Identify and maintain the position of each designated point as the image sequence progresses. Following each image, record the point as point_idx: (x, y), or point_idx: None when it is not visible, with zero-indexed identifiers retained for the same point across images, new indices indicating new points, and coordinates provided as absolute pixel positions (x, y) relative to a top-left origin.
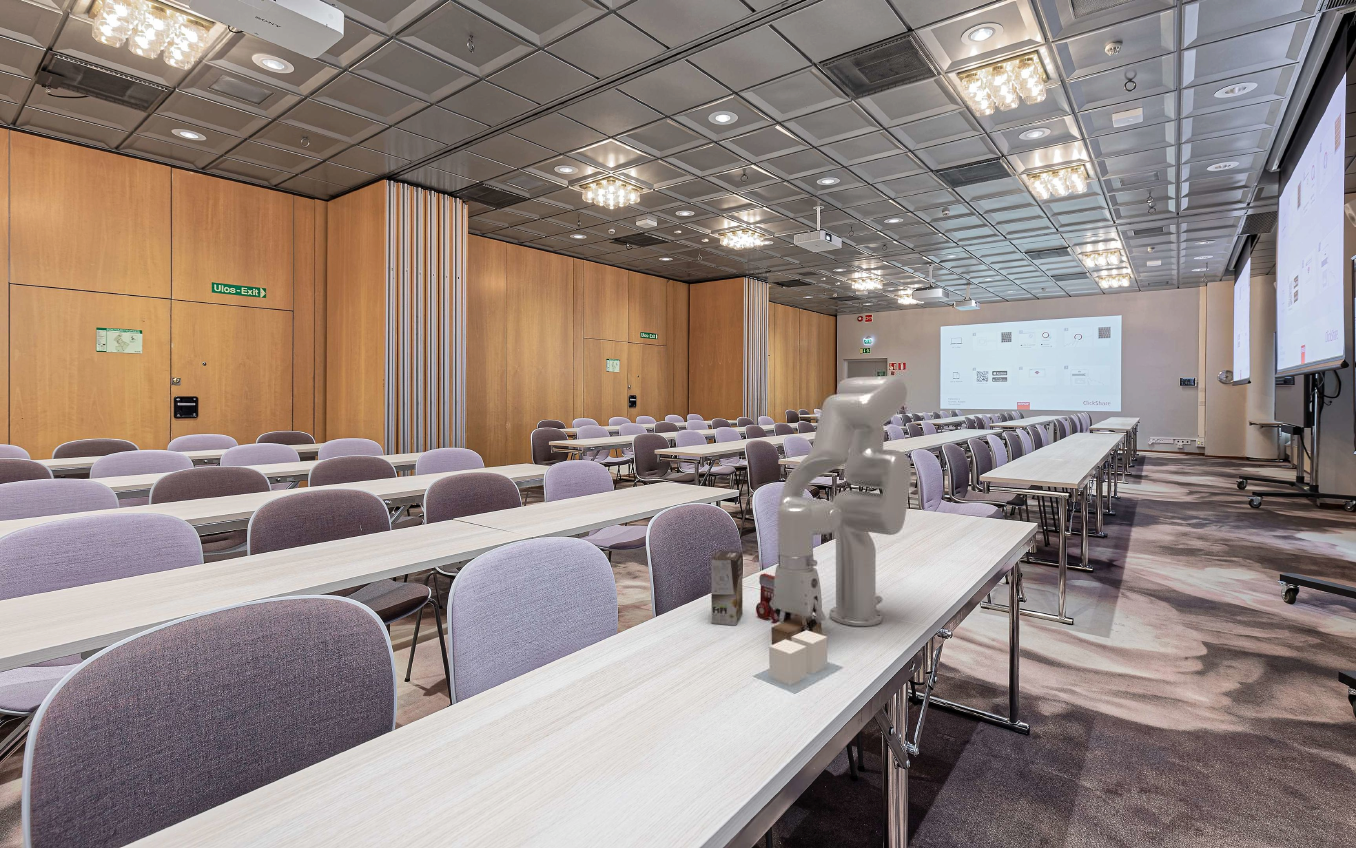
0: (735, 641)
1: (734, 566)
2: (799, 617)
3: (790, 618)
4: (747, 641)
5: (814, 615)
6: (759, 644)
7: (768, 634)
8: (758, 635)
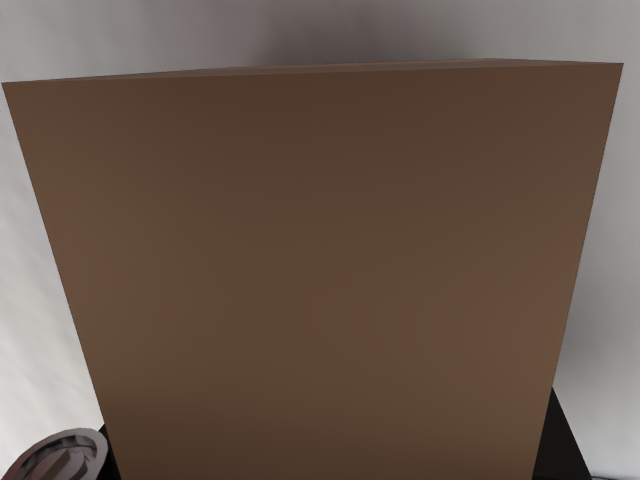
0: None
1: None
2: (181, 411)
3: (104, 471)
4: None
5: (339, 84)
6: None
7: (19, 257)
8: (4, 321)
